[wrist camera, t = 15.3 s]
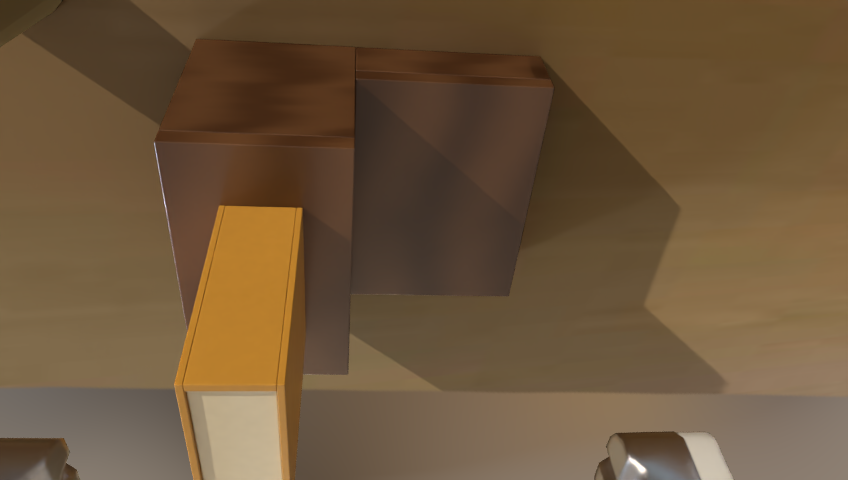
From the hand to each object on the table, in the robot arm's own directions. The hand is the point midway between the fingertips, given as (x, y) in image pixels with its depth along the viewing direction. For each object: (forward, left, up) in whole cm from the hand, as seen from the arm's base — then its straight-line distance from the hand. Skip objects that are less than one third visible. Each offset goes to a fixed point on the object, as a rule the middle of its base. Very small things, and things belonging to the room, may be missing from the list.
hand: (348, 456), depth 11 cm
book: (+1, +17, -22) cm, 28 cm away
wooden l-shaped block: (-4, +16, -33) cm, 37 cm away
